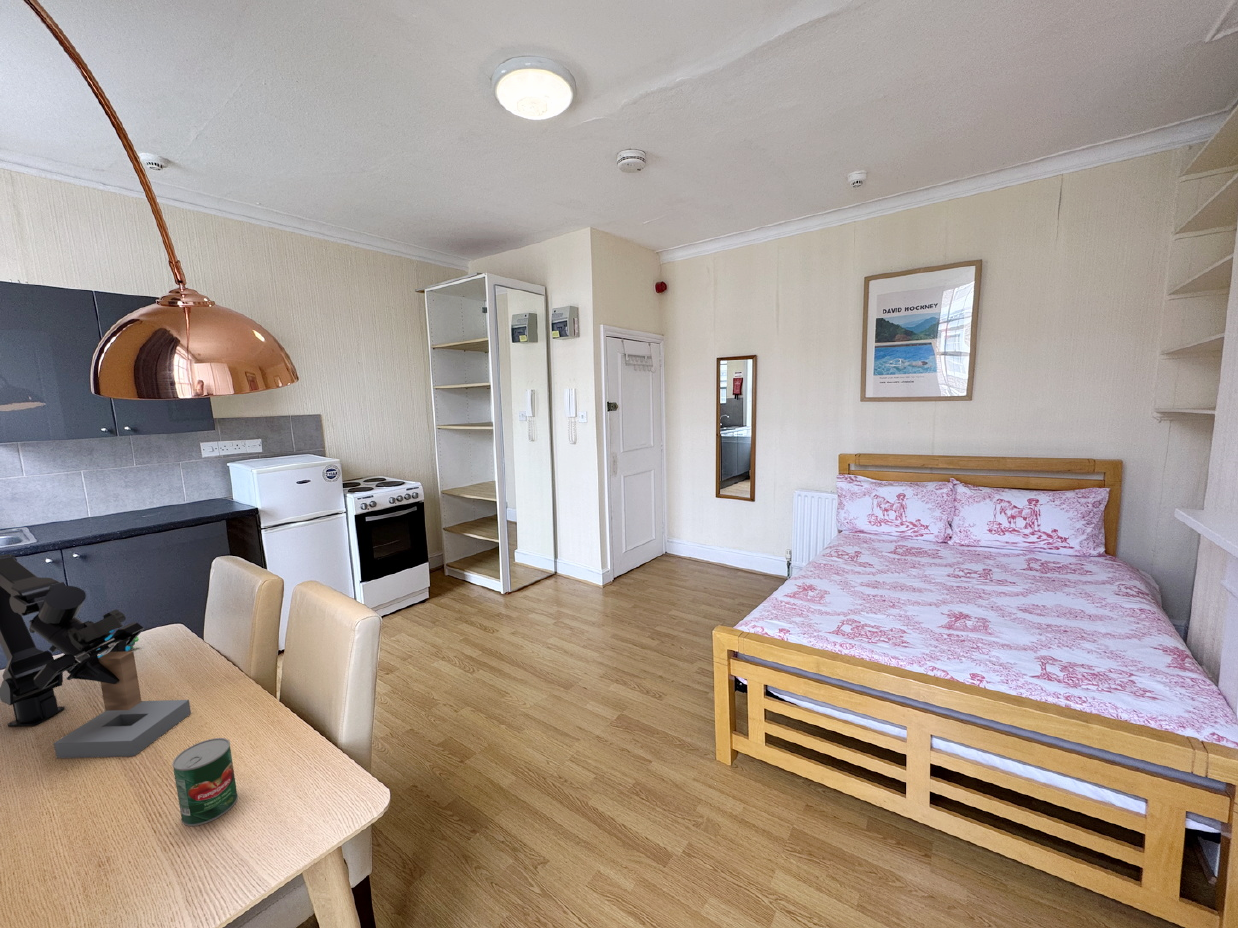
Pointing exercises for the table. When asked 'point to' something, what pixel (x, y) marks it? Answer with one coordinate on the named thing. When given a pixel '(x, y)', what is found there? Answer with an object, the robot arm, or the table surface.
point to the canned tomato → (205, 781)
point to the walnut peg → (120, 681)
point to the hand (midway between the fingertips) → (125, 677)
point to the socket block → (123, 730)
